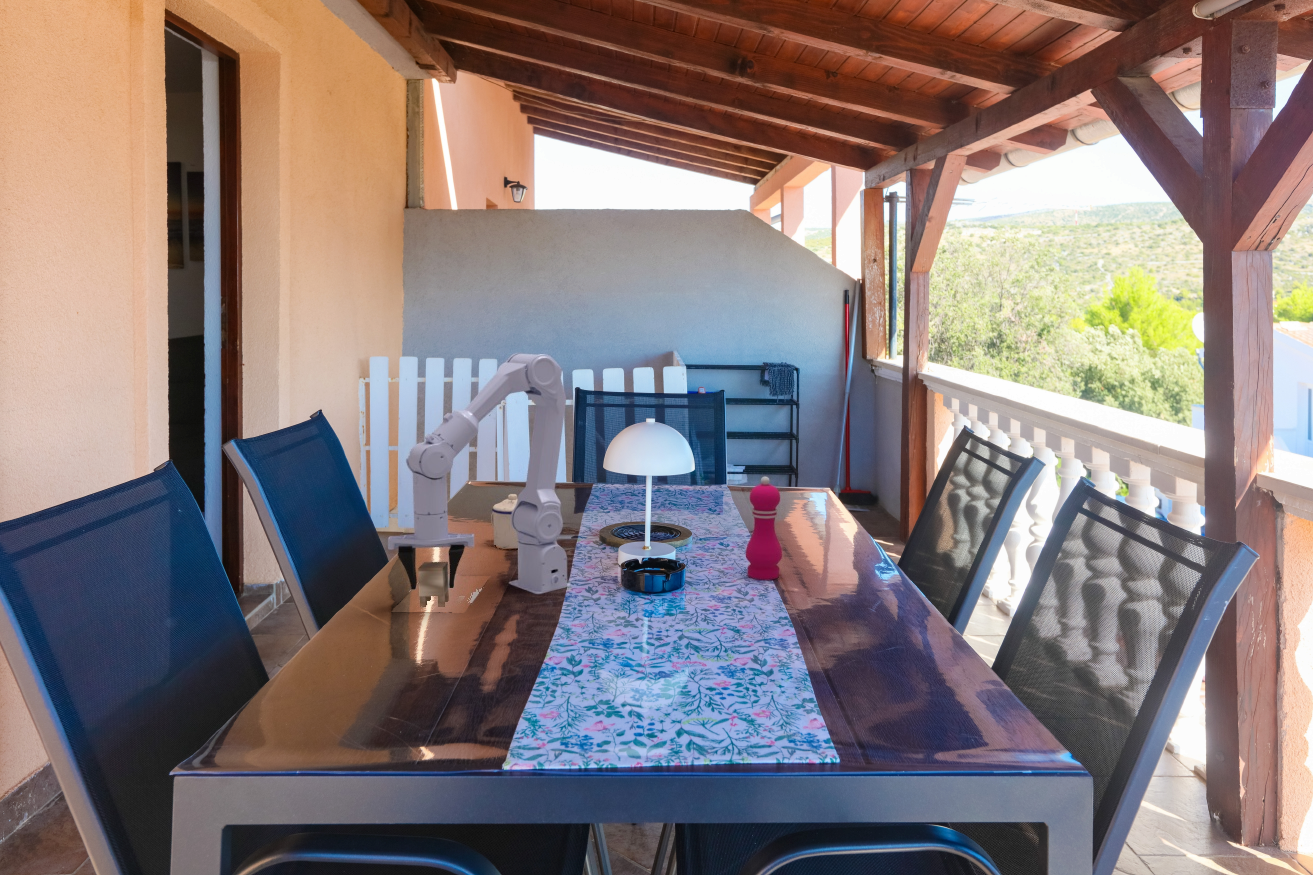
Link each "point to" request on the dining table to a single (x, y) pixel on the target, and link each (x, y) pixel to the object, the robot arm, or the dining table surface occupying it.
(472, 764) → the dining table surface
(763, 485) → the pepper mill
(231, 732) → the dining table surface
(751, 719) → the dining table surface
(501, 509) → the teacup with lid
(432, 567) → the beige notched block
